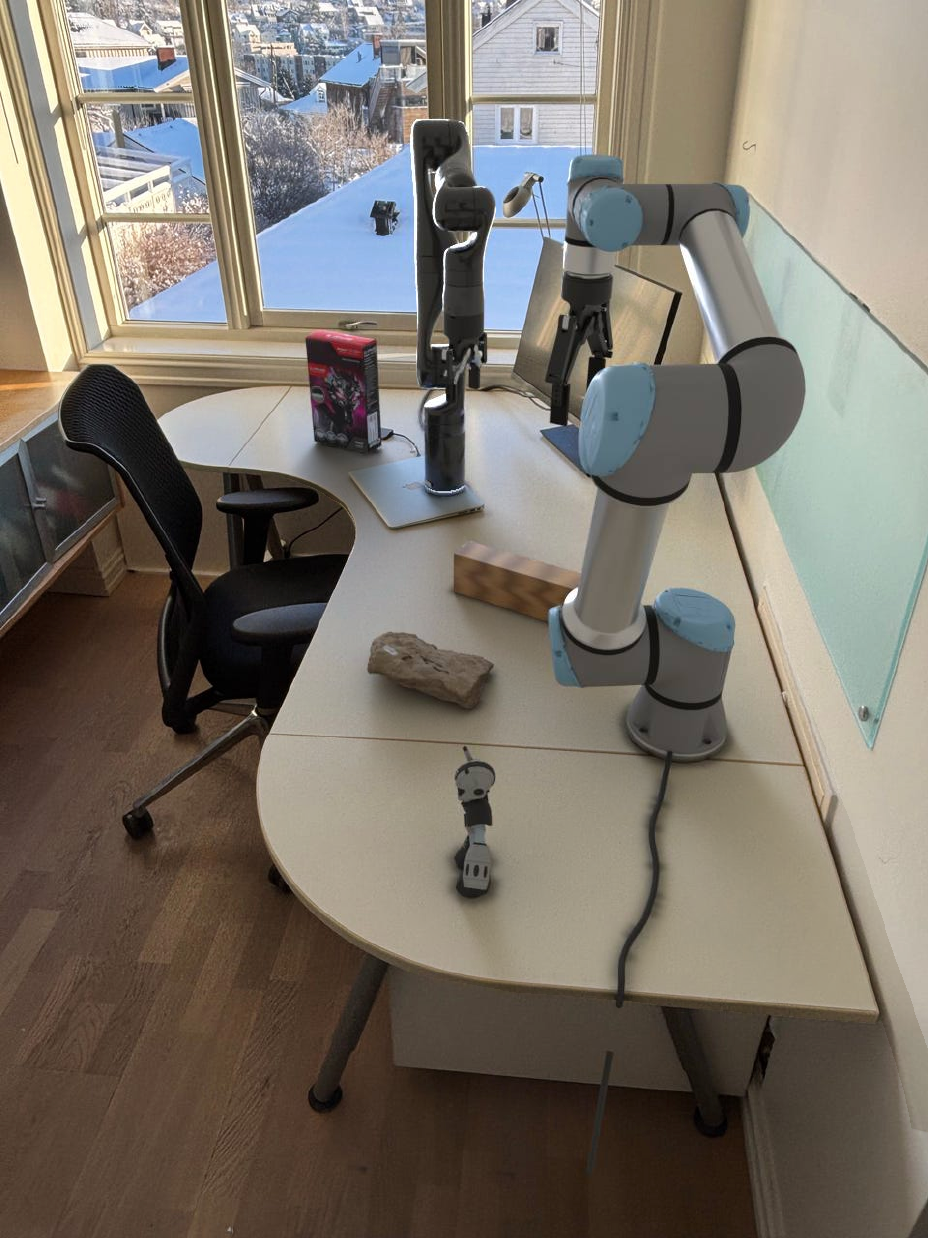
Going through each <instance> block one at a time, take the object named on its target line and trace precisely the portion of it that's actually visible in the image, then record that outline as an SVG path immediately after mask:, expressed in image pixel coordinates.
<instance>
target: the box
mask: <svg viewBox="0 0 928 1238" xmlns="http://www.w3.org/2000/svg"><path fill="white" fill-rule="evenodd" d="M580 575H581V572H578V571H575V570H572V569H568V568H565V567H562V566H558V565H554V564H551V563H547V562H545V561H540V560H537V559H534V558H530V557H527V556H524V555H521V554H516V553H513V552H509V551H505V550H504V549H499V548H496V547H493V546H489V545H485V544H483V543H479V542H476V541H472V540H468V541H467V542H466V543H464V544H463V545H462V546H461V547H459V548H458V549H457V550H456V551H455V552H454V553H453V592H454V593H456V594H460V595H463V596H466V597H470V598H473V599H476V600H479V601H483V602H485V603H489V604H492V605H493V606H494V605H495V606H497V607H501V608H504V609H507V610H510V611H513V612H517V613H519V614H523V615H525V616H529V617H532V618H535V619H538V620H541V621H544V622H547V623H549V619H548V612H549V610H550V609H551V608H553V607H557V606H563V605H564V602H565V600H566V598H567V596H568V595H569V594H570V593H571V592H572V591H573V590H575V589H576V588H578V585H579V580H580Z"/></svg>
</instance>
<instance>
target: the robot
mask: <svg viewBox="0 0 928 1238" xmlns="http://www.w3.org/2000/svg"><path fill="white" fill-rule="evenodd" d="M462 751H463V753H464V755H465V759H466V762H464V763H462V764H461V765H460V766H459V767H458V768H456V771H455V774H454V785H455V786H456V787H457V788H456V789H457V799H458V801H460V804H461V807H462V809H463V811H464V813H463V820H464V822H463V823H464V828H465V830H466V832H467V836H466V837H465V840H464V841H463V844H462V845H461V847H460V848H459V850H458V851H457V852H456V854H454V855H455V856H454V857H453V859H454V862H455V863H456V866H457V867H458V868H460V869H461V870H462V871H461V873H460V875H459V877H458V878H457V882H456V885H455V889H456V890H457V891H458V893H460V895H461V896H463V897H466V898H470V899H472V898H478V897H479V896H482V895H484V894H486V893H488V892H489V890H490V887H491V869H492V854H491V849H490V846H488V844H487V843H486V837H485V835H486V826H488V827H493V812H492V811H493V810H492V807H491V804H490V803H489V793H490V791H491V790H490V789H491V788H492V787H493V786H494V784H495V783H496V772H495V769H494V767H493V766H492V765H491V764H489V763H488V762H486V761H484V760H482V759H480V758H474V757H473V756H472V755H471V753H470V751H469V749H468V747H467V746H466V745H463V747H462Z"/></svg>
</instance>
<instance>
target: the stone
mask: <svg viewBox="0 0 928 1238" xmlns="http://www.w3.org/2000/svg"><path fill="white" fill-rule="evenodd" d="M368 658H369V659H368V663H367V669H366V671H367V673H368V674H369V675H381V676H384V677H385V678H386V679H387V681H388V682H390V683H392V684H397V685H399V684H400V685H401V686H402V687H403V688H404V687H405V688H408V689H415V690H417V691H419V692H422V693H426V695H429V696H432V697H435V698H436V699H438V700H441V701H443V702H450V703H456V704H457V705H459V706H460V707H462V708H465V709H468V710H470V709H473V708H475V707H476V706H477V704H478V702H479V700H480V699H481V696H482V688H483V687H484V685H485V683H486V682H487V681H486V680H487V678H488V677H489V676H490V672H491V670H493V668H494V667H495V664H493V662H491V661H490V660H488V659H487V658H485V657H483V656H482V655H481V656H480V655H477V654H470V653H463V652H457V651H454V650H452V649H441V648H438V647H437V646H436V645H435V644H433V643H428V642H426V641H425V640H424V639H422V638H420V637H419V636H418V635H417V634H416V633H409V632H404V631H402V632H397V631H395V632H393V631H386V632H385V633H382V634H380V635H379V636H377V637H376V638H374V639H373V640H372V643H371V646H370V655H369V657H368Z"/></svg>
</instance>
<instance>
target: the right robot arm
mask: <svg viewBox="0 0 928 1238" xmlns="http://www.w3.org/2000/svg"><path fill="white" fill-rule="evenodd" d="M624 180H625V178H624V162H623V160H622V159H621V158H620V157H618V156H615V155H609V154H581V155H577V156H574V157H573V158H572V159H571V161H570V163H569V172H568V179H567V181H566V186H567V194H566V197H567V198H566V215H565V231H564V232H565V233H564V234H565V235H564V244H563V245H562V247H561V251H562V252H563V260H562V261H563V262H562V269H563V270H564V272H563V273H562V275H561V284H560V285H561V286H560V287H561V288H560V297H561V299H562V300H563V301H564V302H567V303H568V305H569V309H568V314H561V313H560V314H559V315H558V320H557V329H556V333H555V338H554V341H553V346H552V350H551V354H550V357H549V361H548V365H547V370H546V374H545V378H544V382H545V384H546V383H547V384H551V396H550V410H549V424H552V425H557V426H560V427H561V426H562V427H567V426H568V424H569V423H568V422H569V411H570V397H571V385H572V384H571V383H569V381H570V378H571V375H572V372H573V369H574V366H575V363H576V361H577V357H578V355H579V352H580V350H581V347H582V346H584V345H585V344H586V342H587V344H588V347H589V351H590V353H591V355H590V356H588V363H587V375H586V387H585V395H584V398H583V401H582V402H583V403H582V405H581V411H580V418H579V419H580V426H579V428H578V437H577V438H578V439H577V441H578V442H577V443H578V445H577V446H578V447H577V448H578V456H579V457H578V458H579V461H580V465H581V467H582V469H583V470H584V471H585V473H586V474H589V476H590V478H591V481H592V482H593V485H594V486H595V487H596V488H597V490H596V495H595V498H594V499H595V500H594V505H593V510H592V515H591V519H590V525H589V526H590V527H589V530H588V534H587V540H586V544H585V545H586V546H585V550H584V555H583V560H582V565H581V570H580V573H581V575H580V580H579V585H578V588H576V589H575V590H573V591H572V592H571V593H570V594H569V595H568V596H567V598H566V600H565V602H564V605H563V606H557V607H553V608H551V609H550V610H549V612H548V619H549V622H548V632H549V642H550V643H549V644H550V651H551V652H550V653H551V660H552V661H551V662H552V668H553V669H552V670H553V674H554V679H555V681H556V682H557V683H558V684H559V685H560V686H562V687H570V688H571V687H572V688H574V687H575V688H577V687H578V688H579V689H584V688H595V687H597V688H598V687H599V688H600V687H624V686H640V688H639V689H638V691H637V692H636V694H635V695H634V697H633V699H632V701H631V702H630V704H629V706H628V708H627V711H626V719H625V728H626V732H627V734H628V736H629V738H630V739H631V741H632V742H634V744H636V745H637V746H638V747H639V748H640V749H641V750H643V751H645V752H646V753H648V754H650V755H651V756H654V757H656V758H659V759H662V760H665V762H664V767H663V771H662V777H661V783H660V787H659V792H658V797H657V798H656V803H655V805H654V808H653V811H652V814H651V817H650V821H649V826H648V843H649V848H650V853H651V860H652V879H651V887H650V891H649V895H648V898H647V902H646V905H645V907H644V910H643V912H642V915H641V916H640V918H639V920H638V922H637V923H636V925H635V927H633V929H632V930H631V932H630V934H629V935H628V936H627V938H626V940H625V942H624V944H623V945H622V947H621V948H622V949H621V952H620V955H619V959H618V963H617V964H618V965H617V991H616V997H615V998H616V999H615V1007H616V1009H622V1007H623V1005H624V999H625V991H626V990H625V989H626V962H627V957H628V954H629V952H630V949H631V947H632V946H633V944H634V942H635V941H636V939H637V938H638V936H639V934H640V933H641V932H642V930H643V929H644V927H645V925H646V923H647V922H648V919H649V917H650V915H651V912H652V909H653V906H654V903H655V901H656V897H657V892H658V888H659V881H660V858H659V852H658V848H657V843H656V833H655V832H656V824H657V820H658V816H659V814H660V811H661V808H662V805H663V802H664V798H665V794H666V790H667V784H668V779H669V776H670V775H669V774H670V769H671V764H672V762H675V763H694V762H700V761H703V760H706V759H709V758H711V757H714V755H716V754H718V752H720V751H721V750H722V748H723V747H724V744H725V743H726V740H727V739H726V738H727V733H728V721H727V716H726V712H725V708H724V707H725V706H724V701H723V692H724V686H725V682H726V678H727V674H728V669H729V664H730V659H731V654H732V651H733V649H734V646H735V631H736V620H735V617H734V614H733V612H732V611H731V609H730V608H729V607H728V606H727V605H726V604H725V603H723V601H721V600H720V599H718V598H716V597H715V596H712V595H711V594H709V593H706V592H704V591H701V590H698V589H695V588H694V589H693V588H686V587H672V588H667V589H665V590H664V591H660V592H659V593H658V595H657V596H656V597H655V599H654V600H653V604H643V603H642V598H643V595H644V592H645V588H646V586H647V582H648V578H649V575H650V571H651V568H652V564H653V561H654V558H655V555H656V550H657V548H658V544H659V540H660V536H661V534H662V530H663V526H664V523H665V519H666V517H667V513H668V509H669V506H670V504H672V503H674V502H675V501H678V499H680V498H682V496H683V495H684V494H685V492H686V491H687V490H688V489H689V485H690V483H691V479H692V476H693V474H730V473H732V474H733V473H739V472H743V471H747V470H749V469H752V468H754V467H756V466H759V465H761V464H762V463H763V462H765V461H767V460H768V459H770V458H772V456H774V455H775V454H776V453H777V452H778V451H779V450H780V449H781V448H782V447H783V446H784V445H785V443H786V442H787V441H788V440H789V438H790V437H791V436H792V434H793V432H794V431H795V429H796V427H797V426H798V422H799V421H800V418H801V416H802V413H803V409H804V404H805V399H806V394H807V393H806V391H807V390H806V388H807V387H806V377H805V371H804V367H803V364H802V361H801V358H800V356H799V354H798V351H797V348H796V347H795V346H794V345H793V344H792V342H791V341H789V340H788V339H787V338H784V337H783V336H781V335H780V332H779V329H778V327H777V324H776V322H775V320H774V316H773V314H772V312H771V309H770V306H769V304H768V301H767V298H766V296H765V293H764V291H763V289H762V286H761V284H760V280H759V279H758V275H757V272H756V271H755V267H754V266H753V263H752V260H751V258H750V255H749V253H748V250H747V247H746V245H745V243H744V237H745V235H746V234H747V231H748V227H749V223H750V214H751V206H750V195H749V193H748V191H747V189H746V188H745V187H744V186H742V185H740V184H729V183H722V182H718V181H717V182H711V183H624ZM630 246H678V247H679V249H680V252H681V254H682V257H683V261H684V264H685V268H686V270H687V273H688V277H689V280H690V284H691V287H692V290H693V294H694V296H695V300H696V302H697V307H698V309H699V312H700V316H701V319H702V323H703V326H704V330H705V332H706V336H707V339H708V342H709V345H710V346H709V347H710V349H711V352H712V355H713V356H712V357H713V359H714V362H715V363H680V364H677V363H676V364H675V363H674V364H647V363H645V362H640V361H638V362H637V361H636V362H632V363H630V364H620V365H619V364H618V365H617V364H616V365H609V366H607V367H606V364H607V363H606V362H607V359H612V358H613V355H614V352H613V351H612V350H613V349H614V339H613V333H612V323H611V313H610V308H611V307H610V305H611V299H612V293H613V284H614V276H613V274H612V273H613V272H614V271H615V267H616V266H615V265H616V254H617V252H620V251H623V250H624V249H627V248H628V247H630ZM613 1059H614V1051H610V1050H606V1053H605V1058H604V1064H603V1070H602V1076H601V1083H600V1088H599V1094H598V1101H597V1106H596V1111H595V1118H594V1124H593V1130H592V1136H591V1141H590V1150H589V1154H588V1160H587V1162H588V1163H587V1166H586V1174H587V1175H593V1173H594V1169H595V1168H594V1167H595V1162H596V1157H597V1150H598V1144H599V1139H600V1134H601V1133H600V1132H601V1127H602V1121H603V1115H604V1109H605V1105H606V1099H607V1092H608V1088H609V1087H608V1086H609V1081H610V1075H611V1069H612V1066H613V1065H612V1064H613Z"/></svg>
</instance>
